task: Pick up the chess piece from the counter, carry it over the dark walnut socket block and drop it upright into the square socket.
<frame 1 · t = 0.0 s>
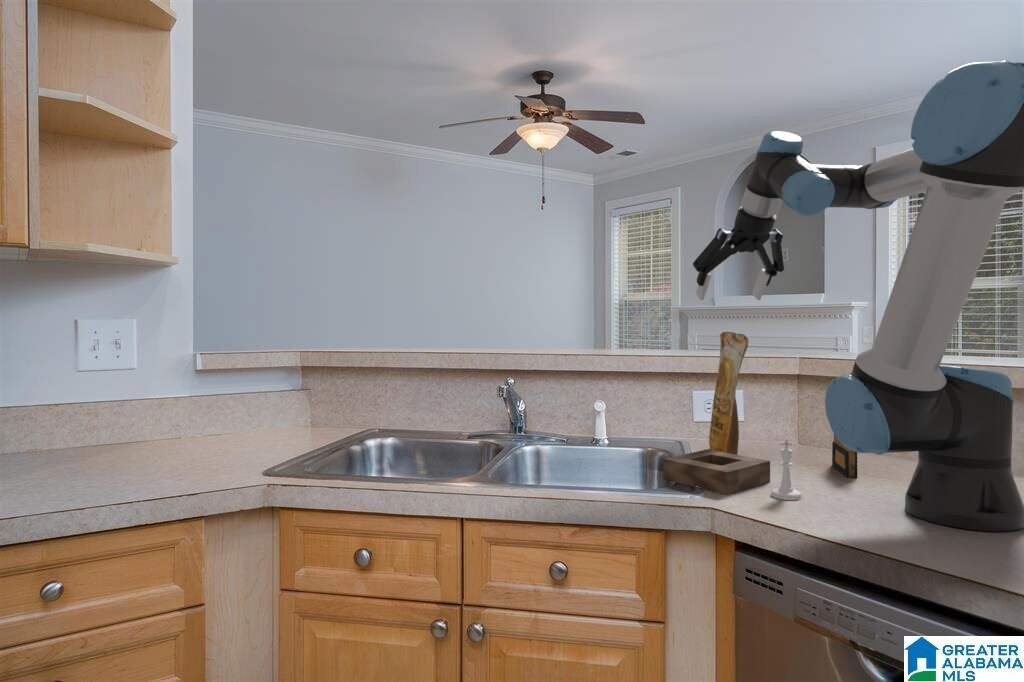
hand: (727, 296, 141), 36 cm above the counter, tool tilted 35°, fingers open, 13 cm apart
chess piece: (786, 497, 109), on the counter
socket block: (716, 480, 120), on the counter
pancake mix bag: (726, 454, 144), on the counter
ammunition clip: (844, 472, 127), on the counter
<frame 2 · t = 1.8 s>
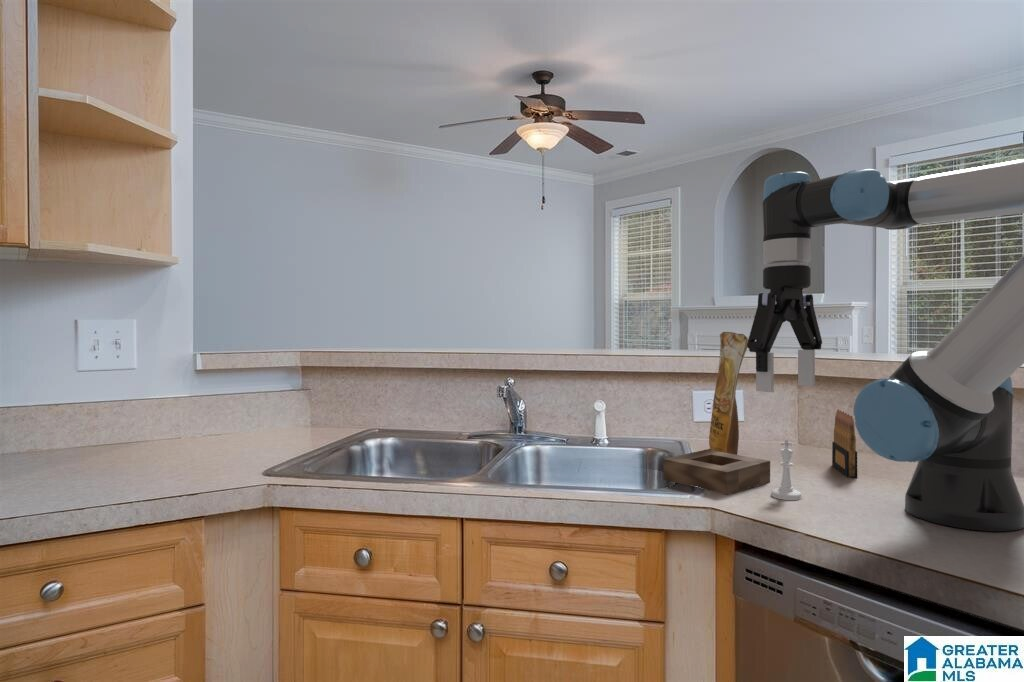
hand: (786, 388, 109), 19 cm above the counter, tool pointing down, fingers open, 13 cm apart
nothing on the counter moved.
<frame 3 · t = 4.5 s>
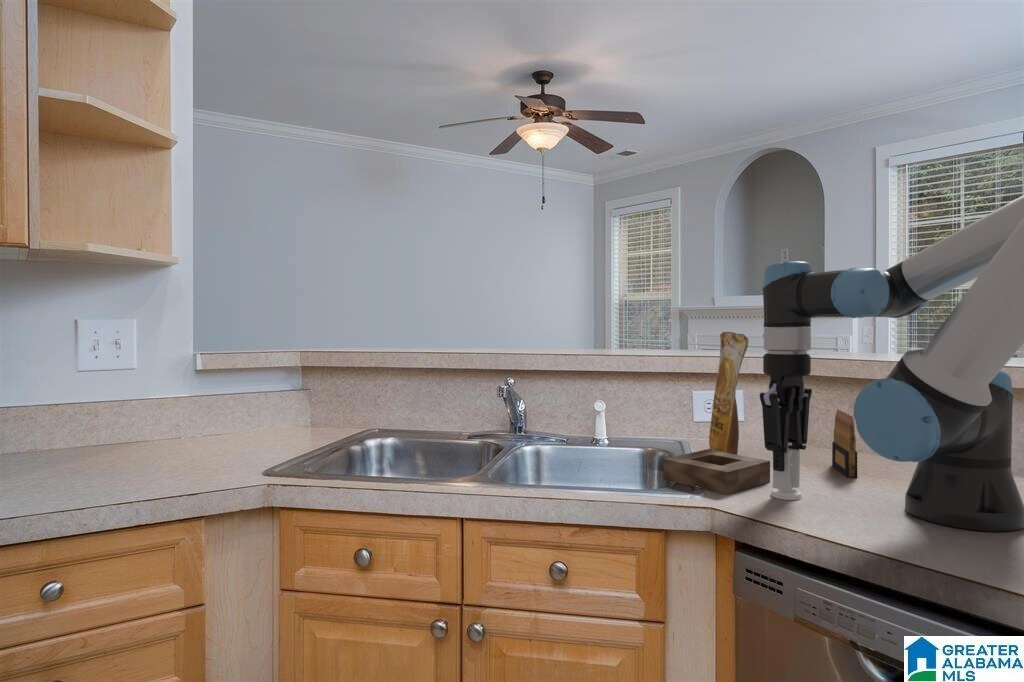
hand: (786, 487, 109), 2 cm above the counter, tool pointing down, fingers closed on chess piece, 2 cm apart
chess piece: (786, 497, 109), on the counter, touching gripper
everything else where it was.
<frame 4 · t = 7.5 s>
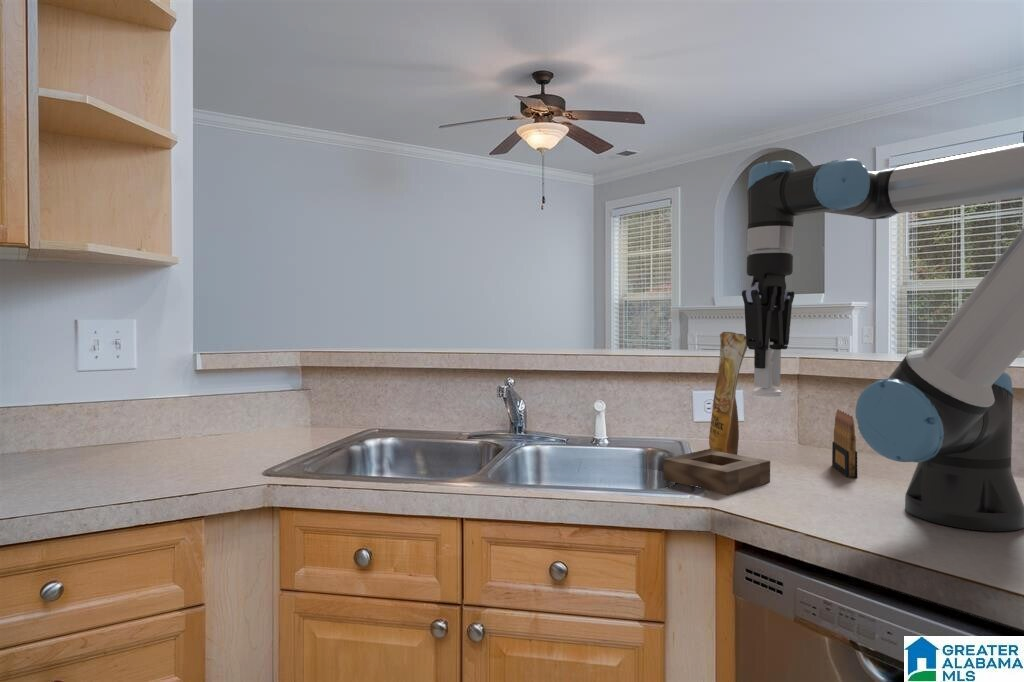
hand: (767, 386, 111), 19 cm above the counter, tool pointing down, fingers closed on chess piece, 2 cm apart
chess piece: (766, 395, 112), point 17 cm above the counter, touching gripper
everything else where it was.
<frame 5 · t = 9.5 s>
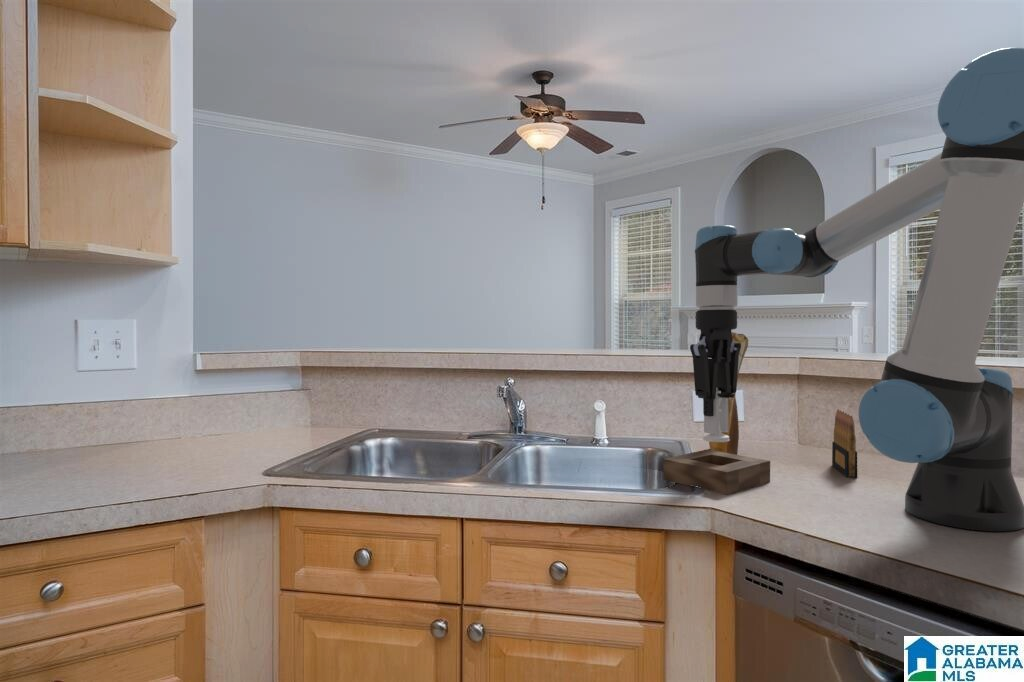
hand: (716, 431, 120), 9 cm above the counter, tool pointing down, fingers closed on chess piece, 2 cm apart
chess piece: (716, 440, 120), point 8 cm above the counter, touching gripper
everything else where it was.
when the fingers open (5 cm above the counter, at t = 10.8 s): chess piece drops 3 cm, resting on socket block.
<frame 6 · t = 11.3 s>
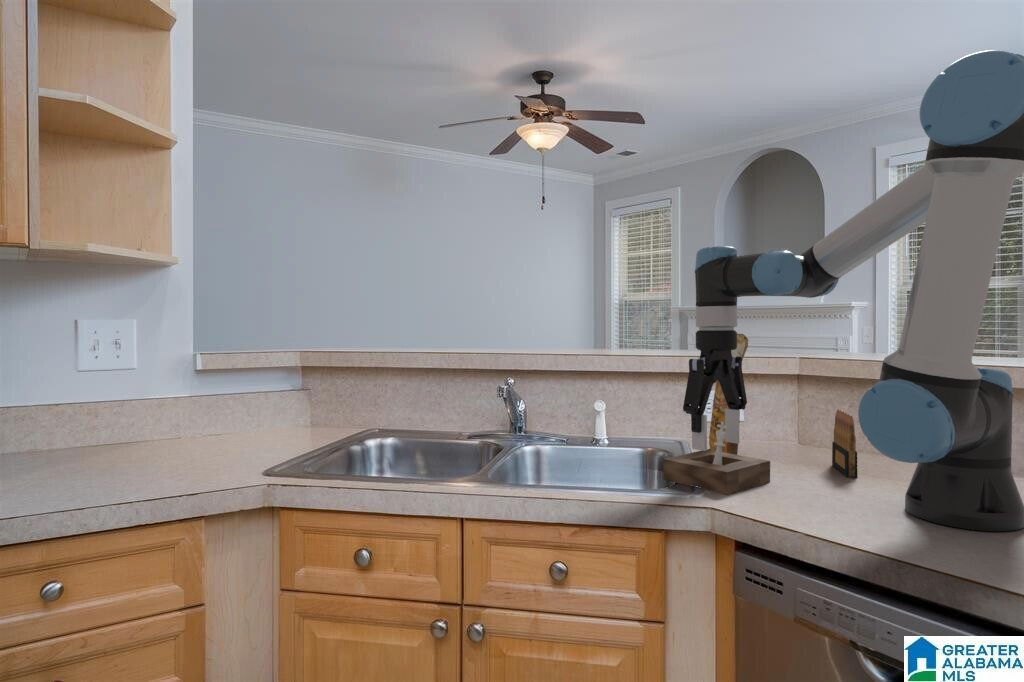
hand: (716, 445, 120), 7 cm above the counter, tool pointing down, fingers open, 10 cm apart
chess piece: (716, 474, 120), point 1 cm above the counter, touching socket block
everything else where it was.
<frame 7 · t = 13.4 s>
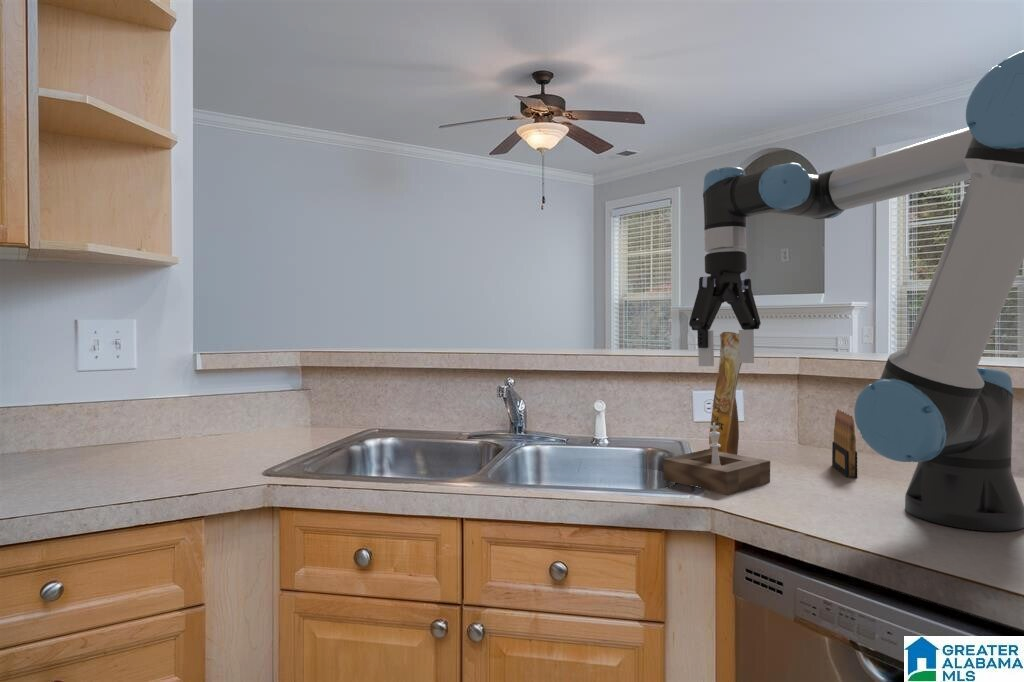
hand: (727, 364, 119), 22 cm above the counter, tool pointing down, fingers open, 13 cm apart
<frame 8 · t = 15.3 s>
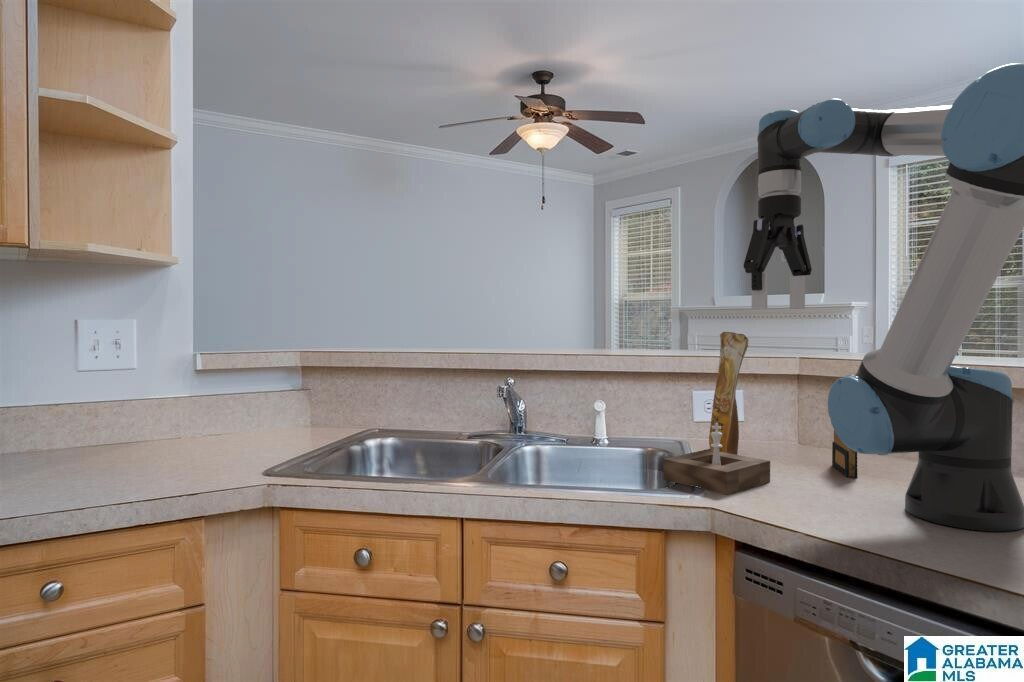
hand: (779, 309, 120), 33 cm above the counter, tool pointing down, fingers open, 13 cm apart
nothing on the counter moved.
at the end: chess piece 0.0 cm off-centre on the socket block, point 0.9 cm above the socket block's base; chess piece tilted 1°; the gripper is holding nothing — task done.
